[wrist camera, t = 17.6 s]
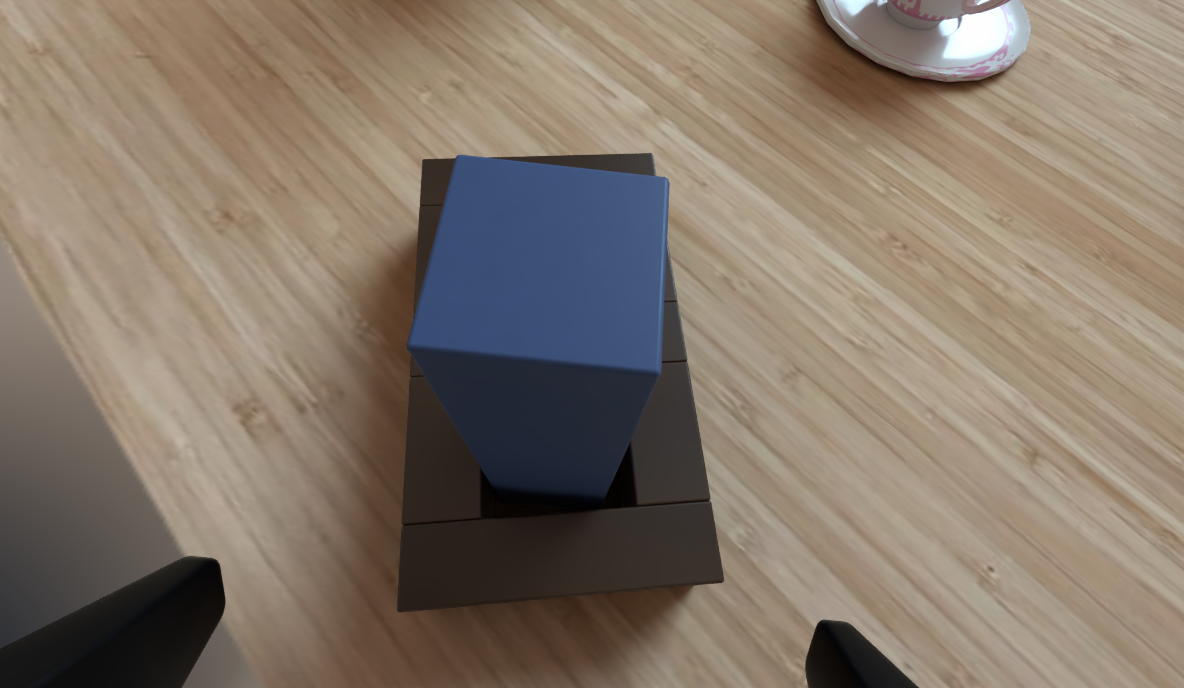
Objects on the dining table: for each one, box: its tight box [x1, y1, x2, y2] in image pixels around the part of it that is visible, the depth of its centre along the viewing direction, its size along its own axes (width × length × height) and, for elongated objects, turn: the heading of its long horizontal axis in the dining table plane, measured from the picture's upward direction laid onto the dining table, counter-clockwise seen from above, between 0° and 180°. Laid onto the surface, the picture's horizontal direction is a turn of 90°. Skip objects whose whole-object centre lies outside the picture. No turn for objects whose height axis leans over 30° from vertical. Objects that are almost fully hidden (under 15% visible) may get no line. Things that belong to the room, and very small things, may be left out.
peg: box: [407, 155, 669, 511], centre depth 14 cm, size 3×3×13 cm
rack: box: [397, 153, 724, 612], centre depth 19 cm, size 15×9×4 cm, turn 5°
